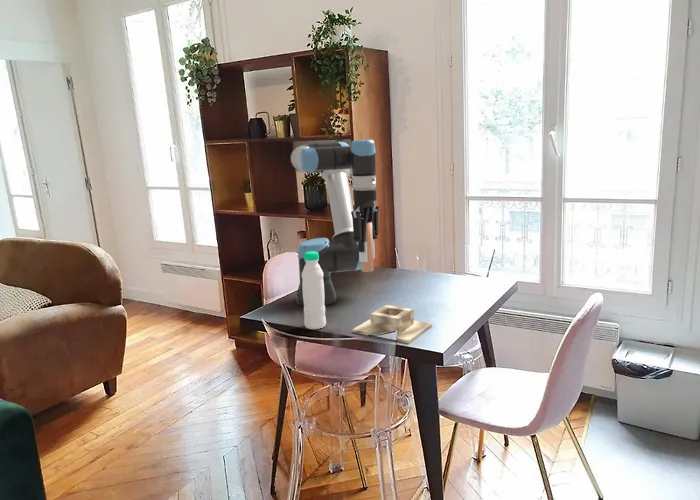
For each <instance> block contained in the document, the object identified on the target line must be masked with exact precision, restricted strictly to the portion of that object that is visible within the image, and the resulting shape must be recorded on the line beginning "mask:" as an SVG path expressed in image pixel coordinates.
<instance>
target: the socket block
mask: <svg viewBox="0 0 700 500" xmlns="http://www.w3.org/2000/svg"><path fill="white" fill-rule="evenodd" d="M414 314H415V312H414V308H406V307H402V306H395V305H390V304H385V305H384V306H381V307H379V308H378V309H377V310H374V311H372V313H370V318H369V319H368V320H366V321H364V322H363V323H361V324H360V325H357V326H356V327H354V328H353V329H352V333H353V332H354V334H360V335H363V336H368V335H374V334H380V333H387V332H392V331H397V333H398V335H397V341H396V342H398V343H404V344H411V343H412V342H414V341H415V340H416V339H417V338H419V337H420V336H422V335H424V333H425V332H427V331H428V330H429V329H431V328H432V327H433V324H432V323H430V322H424V321H420V320H419V321H418V320H414V319H415V318H414Z"/></svg>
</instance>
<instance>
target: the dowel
mask: <svg viewBox="0 0 700 500" xmlns="http://www.w3.org/2000/svg"><path fill="white" fill-rule="evenodd" d="M365 242H367V259H368V262H362V261H361V269H360V270H361V272H363V273H370V272H371V273H372V272H374V271H375V269H374V259H373V236H372V222H367V223H366V237H365Z"/></svg>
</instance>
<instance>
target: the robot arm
mask: <svg viewBox="0 0 700 500" xmlns="http://www.w3.org/2000/svg"><path fill="white" fill-rule="evenodd" d="M376 151H377V150H376V145H375V141H374V139H357V140H352V141H351V145H349V144H348V143H346V142H344V141H332V142H329V141H328V142H310V143H304V144H301V145H299V146H296V147H295V148H294V149H293V150H292V152H291V153H290V163H291V165H292V167H293V168H294V169H296V170H297V171H300V172H304V173H320V174H321V177H322V179H323V180H325V182H326V187H327V193H328V194H327V195H328V198H329V205H330V212H331V216H332V223H333V230H334V234H333V236H332V237H331V241H330V240H329V238H327V237H315V238H312V239H308V240H304V241H303V242H300V244H299V245H298V247H297V248H298V249H297V258H298V267H299V268H298V269H299V270H298V271H299V273H298V274H299V284H298V287H297V293H296V295H295V299H296V301H295V302H296V304H297V305H299V306H302V307H304V301H303V289H302V280H303V279H302V272H303V269H304V266H305V264H306V262H305V259H304V254H305V253H306V252H309V251H315V252H318V254H319V260H318V264H319V265H320V268H321V269H322V271H323V282H324V305H325V306H329V305H331V304H334V303H336V302H337V293H336V291H335V287H334V285H333V282H332V276H331V273H339V272H340V273H341V272H350V271H351V272H352V271H354V272H355V271H359V270H362V269H361V261H362V262H368V259H367V242H365V237H366V223H367V222H372V236H373V260H375V258H376V249H375V246H376V245H375V240H376V239H378V236H379V209H380V207H379V206H378V205H375V203H374V202H376V201H377V200H378V199H377V198H378V197H377V196H378V193H377V189H376V187H377V176H376V175H377V173H376V172H377V171H376V170H377V167H376ZM351 171H352V172H351ZM350 173H352V177H351V178H352V179H351V180H352V188H353V191H352V194H351V189H350V184H349V179H348V176H349V175H350ZM351 195H352V196H351ZM352 198H353V201H352ZM353 202H356V206H355V210H354V206H353Z"/></svg>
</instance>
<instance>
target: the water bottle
mask: <svg viewBox="0 0 700 500" xmlns="http://www.w3.org/2000/svg"><path fill="white" fill-rule="evenodd" d="M304 259H305V262H306V264H305V266H304V269H303V272H302V279H303V280H302V289H303V301H304V306H303V315H304V317H303V318H304V320H303V321H304V322H303V323H304V326H305V328H306V329H308V330H320V328H321V329H323V328H324V327H326V325H327V318H326V305H324V282H323V271H322V269H321V268H320V265H319V264H318V260H319V254H318V252H315V251H309V252H306V253H305V254H304Z"/></svg>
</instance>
